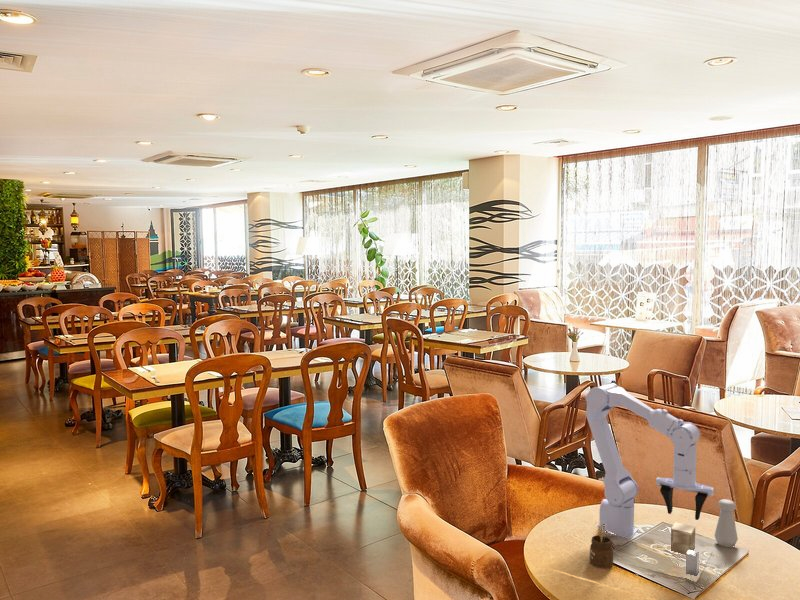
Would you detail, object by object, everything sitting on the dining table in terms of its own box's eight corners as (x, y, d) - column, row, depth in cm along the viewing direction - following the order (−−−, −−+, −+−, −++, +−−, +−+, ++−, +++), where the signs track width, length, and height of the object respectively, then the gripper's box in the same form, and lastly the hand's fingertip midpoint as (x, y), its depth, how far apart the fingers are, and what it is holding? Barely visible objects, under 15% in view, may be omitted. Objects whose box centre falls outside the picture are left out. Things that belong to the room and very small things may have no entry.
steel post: (685, 573, 166) (686, 553, 166) (688, 569, 168) (688, 549, 168) (696, 576, 165) (697, 556, 164) (698, 572, 167) (699, 552, 166)
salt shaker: (739, 551, 179) (741, 505, 178) (717, 549, 180) (718, 504, 179) (733, 541, 185) (734, 497, 184) (712, 540, 186) (713, 496, 185)
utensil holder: (613, 560, 175) (613, 517, 174) (612, 571, 169) (613, 527, 168) (590, 557, 176) (590, 515, 176) (589, 568, 171) (589, 524, 170)
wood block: (670, 551, 179) (671, 528, 178) (675, 544, 183) (675, 522, 182) (690, 556, 175) (691, 533, 175) (694, 549, 180) (695, 526, 179)
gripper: (653, 466, 178) (652, 514, 179) (710, 477, 170) (709, 527, 171) (660, 459, 184) (659, 506, 185) (715, 469, 175) (714, 517, 177)
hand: (683, 515), depth 178 cm, fingers open, 6 cm apart
